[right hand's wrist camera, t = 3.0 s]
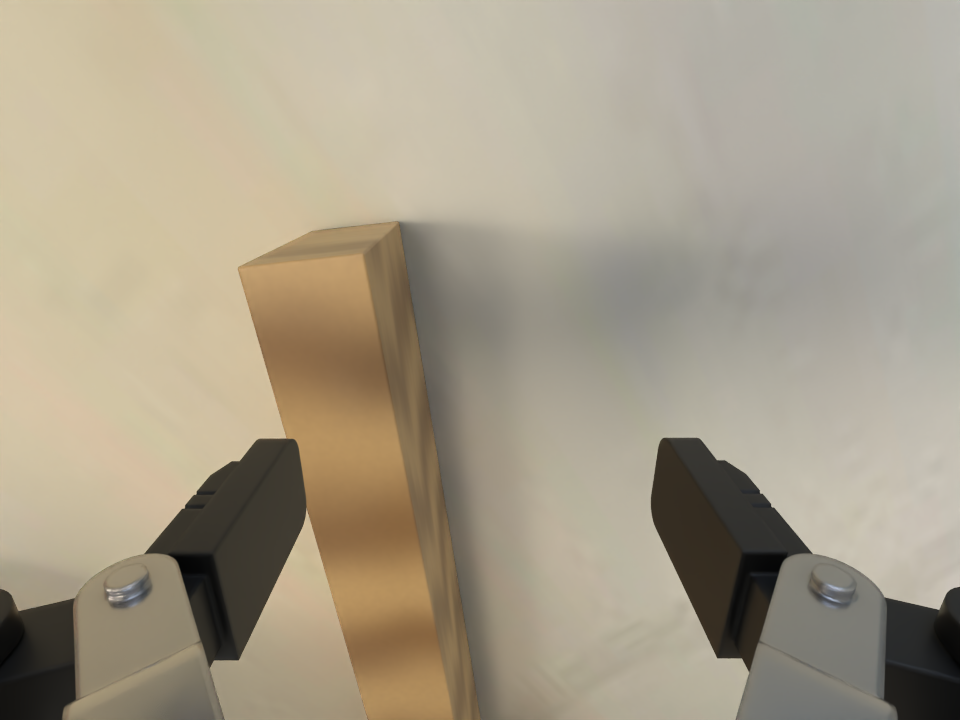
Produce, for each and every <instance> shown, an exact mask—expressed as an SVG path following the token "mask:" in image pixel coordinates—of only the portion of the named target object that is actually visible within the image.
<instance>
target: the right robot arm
mask: <svg viewBox="0 0 960 720" xmlns="http://www.w3.org/2000/svg"><path fill="white" fill-rule="evenodd" d="M651 512H652V518H653V522H654V525H655V527H656V529H657V531H658V534H659V536H660V538H661V540H662V542H663V544H664V546H665V548H666V551H667V553H668V555H669V557H670V559H671V561H672V563H673V565H674V567H675V570H676V572H677V574H678V576H679V578H680V580H681V582H682V584H683V586H684V589H685V591H686V593H687V595H688V597H689V599H690V601H691V603H692V606H693V608H694V610H695V612H696V614H697V616H698V618H699V620H700V622H701V625H702V627H703V629H704V631H705V633H706V635H707V637H708V639H709V641H710V644H711V646H712V648H713V650H714V652H715V654H716V656H717V658H742V659H743V661H744V663H745V665H746V667H747V669H748V671H749V676H748V679H747V682H746V686H745V689H744V693H743V696H742V699H741V703H740V706H739V710H738V713H737V716H736V720H960V587H957V588H953V589H951V590H950V591H949V592H948V593H947V594H946V596H945V598H944V601H943V603H942V605H941V608H940V610H937V609H933V608H928V607H924V606H919V605H915V604H911V603H906V602H902V601H898V600H893V599H889V598H885V597H884V596H883V594H882V592H881V591H880V589H879V588H878V587H877V586H876V585H875V584H874V583H873V582H872V581H871V580H870V579H869V578H868V577H866V576H865V575H864V574H862V573H861V572H859V571H858V570H856V569H854V568H853V567H851V566H849V565H847V564H845V563H843V562H840V561H838V560H836V559H833V558H829V557H826V556H822V555H817V554H812V552H811V551H810V550H809V549H808V548H807V546H806V545H805V544H804V543H803V542H802V540H801V539H800V538H799V537H798V536H797V534H796V533H795V532H794V531H793V530H792V529H791V527H790V526H789V525H788V524H787V523H786V521H785V520H784V519H783V518H782V517H781V515H780V514H779V513H778V512H777V511H776V509H775V508H772V507H771V503H770V502H769V501H768V500H767V499H766V497H765V496H764V495H763V494H760V490H759V489H758V488H757V487H756V485H755V484H754V483H753V482H752V481H751V479H750V478H749V477H748V476H747V475H746V474H745V473H743V472H742V471H740V470H739V469H737V468H736V467H734V466H733V465H731V464H730V463H728V462H727V461H725V460H716V459H715V457H714V456H713V455H712V453H711V452H710V451H709V450H708V448H707V447H706V446H705V444H704V443H703V442H702V441H701V440H700V439H699V438H663V439H662V440H661V441H660V444H659V447H658V454H657V461H656V467H655V474H654V481H653V488H652V494H651ZM305 515H306V493H305V486H304V479H303V473H302V466H301V459H300V453H299V447H298V444H297V442H296V440H295V439H258V440H256V442H255V443H254V444H253V445H252V447H251V448H250V449H249V450H248V452H247V453H246V454H245V455H244V457H243V458H242V459H241V460H240V461H232V462H230V463H229V464H227V465H226V466H224V467H223V468H221V469H220V470H218V471H216V472H215V473H213V474H212V475H210V477H209V478H208V479H207V480H206V481H205V482H204V484H203V485H202V486H201V487H200V488H199V490H198V491H197V494H196V495H194V496H193V497H192V498H191V499H190V500H189V501H188V503H187V504H186V505H185V509H182V510H181V511H180V512H179V513H178V514H177V516H176V517H175V518H174V519H173V520H172V522H171V523H170V524H169V525H168V526H167V528H166V529H165V530H164V531H163V532H162V533H161V535H160V536H159V537H158V538H157V539H156V541H155V542H154V543H153V544H152V545H151V546H150V548H149V549H148V550H147V551H146V552H145V554H143V555H138V556H134V557H131V558H127V559H124V560H122V561H120V562H117V563H115V564H113V565H111V566H109V567H107V568H106V569H104V570H102V571H101V572H99V573H98V574H96V575H95V576H94V577H92V578H91V579H90V580H89V581H88V582H87V583H86V584H85V585H84V586H83V587H82V588H81V589H80V591H79V592H78V594H77V596H76V598H74V599H70V600H66V601H62V602H57V603H53V604H49V605H44V606H40V607H36V608H31V609H27V610H22V611H18V609H17V607H16V605H15V603H14V600H13V598H12V596H11V595H10V594H9V593H8V592H7V591H5V590H1V589H0V720H224V716H223V713H222V710H221V706H220V703H219V699H218V696H217V693H216V689H215V686H214V682H213V679H212V676H211V672H210V669H209V668H210V667H211V665H212V663H213V661H214V660H239V659H240V656H241V654H242V652H243V650H244V648H245V646H246V644H247V642H248V640H249V638H250V636H251V633H252V631H253V629H254V627H255V625H256V623H257V621H258V619H259V617H260V615H261V613H262V610H263V608H264V606H265V604H266V602H267V600H268V598H269V596H270V594H271V592H272V590H273V588H274V585H275V583H276V581H277V579H278V577H279V575H280V573H281V571H282V569H283V567H284V565H285V562H286V560H287V558H288V556H289V554H290V552H291V550H292V548H293V546H294V544H295V542H296V539H297V537H298V535H299V533H300V531H301V529H302V527H303V524H304V520H305Z"/></svg>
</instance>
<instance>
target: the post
mask: <svg viewBox="0 0 960 720" xmlns="http://www.w3.org/2000/svg"><path fill="white" fill-rule="evenodd" d="M238 271H239V275H240V278H241V281H242V285H243V288H244V292H245V295H246V299H247V302H248V306H249V309H250V313H251V316H252V320H253V323H254V326H255V330H256V333H257V337H258V340H259V344H260V347H261V351H262V354H263V358H264V361H265V365H266V368H267V372H268V375H269V378H270V382H271V385H272V389H273V392H274V396H275V399H276V403H277V406H278V410H279V413H280V417H281V420H282V424H283V427H284V430H285V434H286V437H287V439H295V440H296V442H297V444H298V447H299V453H300V459H301V466H302V473H303V479H304V486H305V493H306V507H307V510H308V514H309V517H310V521H311V524H312V527H313V531H314V534H315V538H316V541H317V545H318V548H319V552H320V555H321V559H322V562H323V566H324V569H325V573H326V576H327V579H328V583H329V586H330V590H331V593H332V597H333V600H334V604H335V607H336V611H337V614H338V618H339V621H340V625H341V628H342V631H343V635H344V638H345V642H346V645H347V649H348V652H349V656H350V659H351V663H352V666H353V670H354V673H355V677H356V680H357V683H358V687H359V690H360V694H361V697H362V701H363V704H364V708H365V711H366V715H367V718H368V720H481V719H480V713H479V707H478V701H477V694H476V688H475V682H474V676H473V670H472V664H471V658H470V652H469V646H468V640H467V634H466V628H465V621H464V615H463V609H462V603H461V597H460V591H459V585H458V579H457V573H456V567H455V561H454V554H453V548H452V542H451V536H450V530H449V524H448V518H447V512H446V506H445V500H444V494H443V487H442V481H441V475H440V469H439V463H438V457H437V451H436V445H435V439H434V433H433V427H432V421H431V414H430V408H429V402H428V396H427V390H426V384H425V378H424V372H423V366H422V360H421V354H420V347H419V341H418V335H417V329H416V323H415V317H414V311H413V305H412V299H411V293H410V287H409V280H408V274H407V268H406V262H405V256H404V250H403V244H402V238H401V232H400V226H399V222H389V223H380V224H371V225H362V226H353V227H345V228H336V229H327V230H318V231H311V232H309V233H307V234H305V235H303V236H301V237H299V238H297V239H295V240H293V241H291V242H289V243H287V244H285V245H283V246H281V247H279V248H276V249H274V250H272V251H270V252H268V253H266V254H264V255H262V256H260V257H258V258H256V259H254V260H252V261H250V262H248V263H246V264H244V265H242V266H240V267H238Z"/></svg>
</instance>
